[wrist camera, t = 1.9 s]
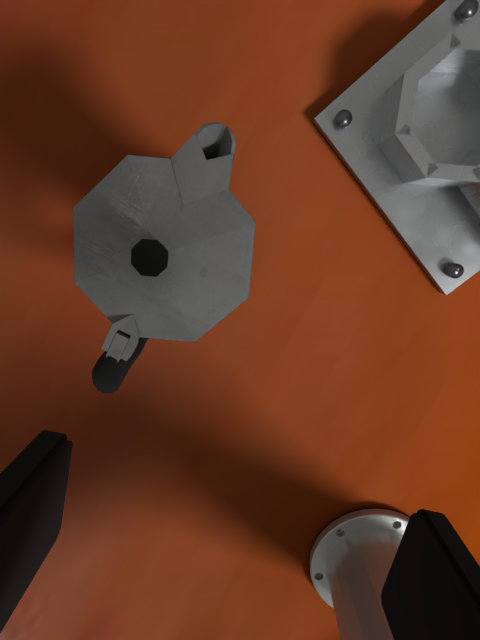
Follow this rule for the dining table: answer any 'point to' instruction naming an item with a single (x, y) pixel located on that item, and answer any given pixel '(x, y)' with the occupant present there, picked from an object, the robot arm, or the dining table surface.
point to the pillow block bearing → (421, 140)
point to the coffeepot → (163, 248)
